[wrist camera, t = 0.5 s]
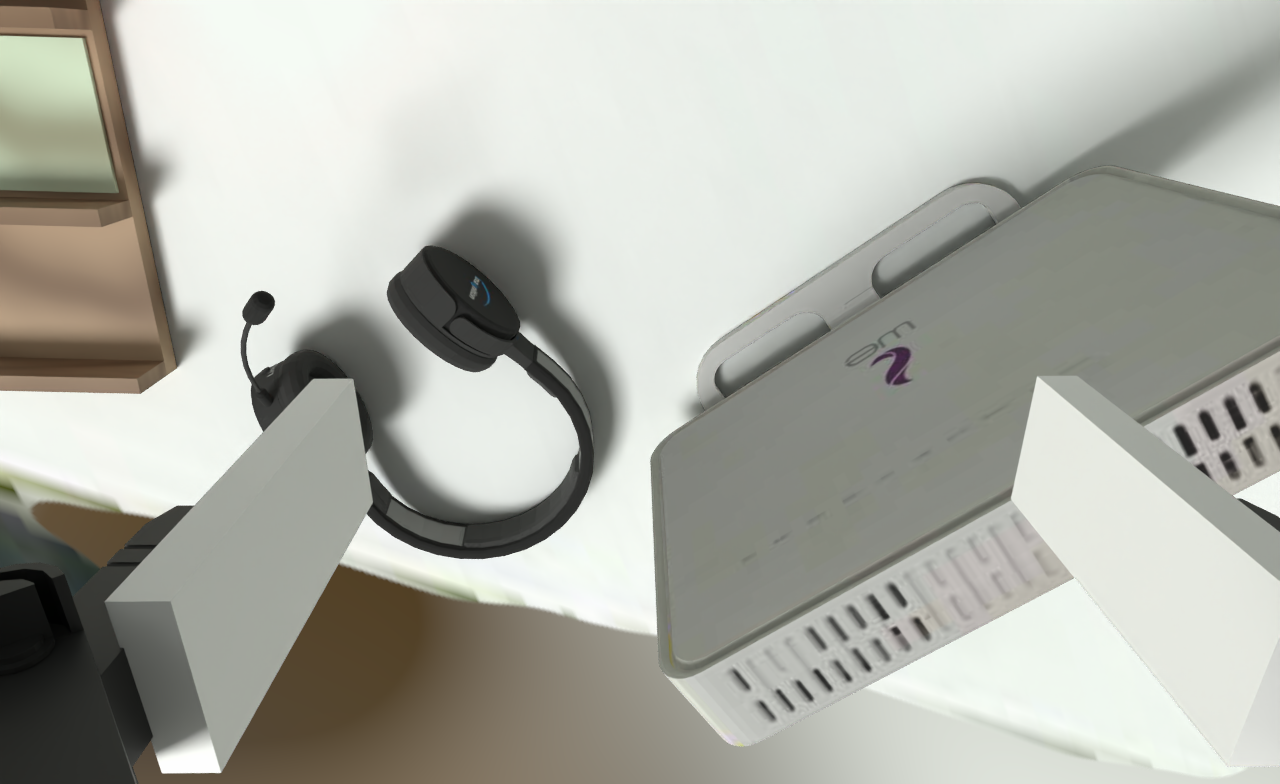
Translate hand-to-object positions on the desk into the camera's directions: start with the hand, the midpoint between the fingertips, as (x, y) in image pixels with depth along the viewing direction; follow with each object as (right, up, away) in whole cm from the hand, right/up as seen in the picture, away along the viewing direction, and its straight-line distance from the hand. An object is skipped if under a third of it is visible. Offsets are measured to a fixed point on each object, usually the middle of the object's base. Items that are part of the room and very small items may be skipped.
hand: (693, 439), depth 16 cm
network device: (+11, +4, +27) cm, 30 cm away
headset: (-12, +1, +29) cm, 31 cm away
